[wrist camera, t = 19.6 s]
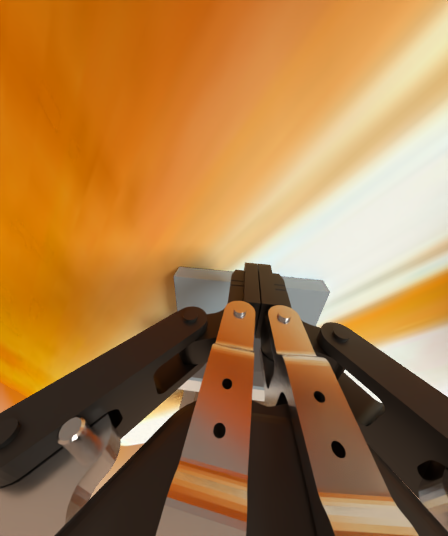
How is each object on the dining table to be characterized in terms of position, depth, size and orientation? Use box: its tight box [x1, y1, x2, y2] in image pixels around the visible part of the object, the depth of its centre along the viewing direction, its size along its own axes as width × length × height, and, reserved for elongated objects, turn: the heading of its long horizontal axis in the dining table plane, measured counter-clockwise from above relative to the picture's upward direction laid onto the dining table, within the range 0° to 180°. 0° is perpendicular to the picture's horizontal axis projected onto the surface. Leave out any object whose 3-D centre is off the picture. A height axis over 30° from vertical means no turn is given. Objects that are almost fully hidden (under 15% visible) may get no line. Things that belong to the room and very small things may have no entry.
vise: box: [174, 267, 330, 409], centre depth 20 cm, size 22×12×4 cm, turn 177°
